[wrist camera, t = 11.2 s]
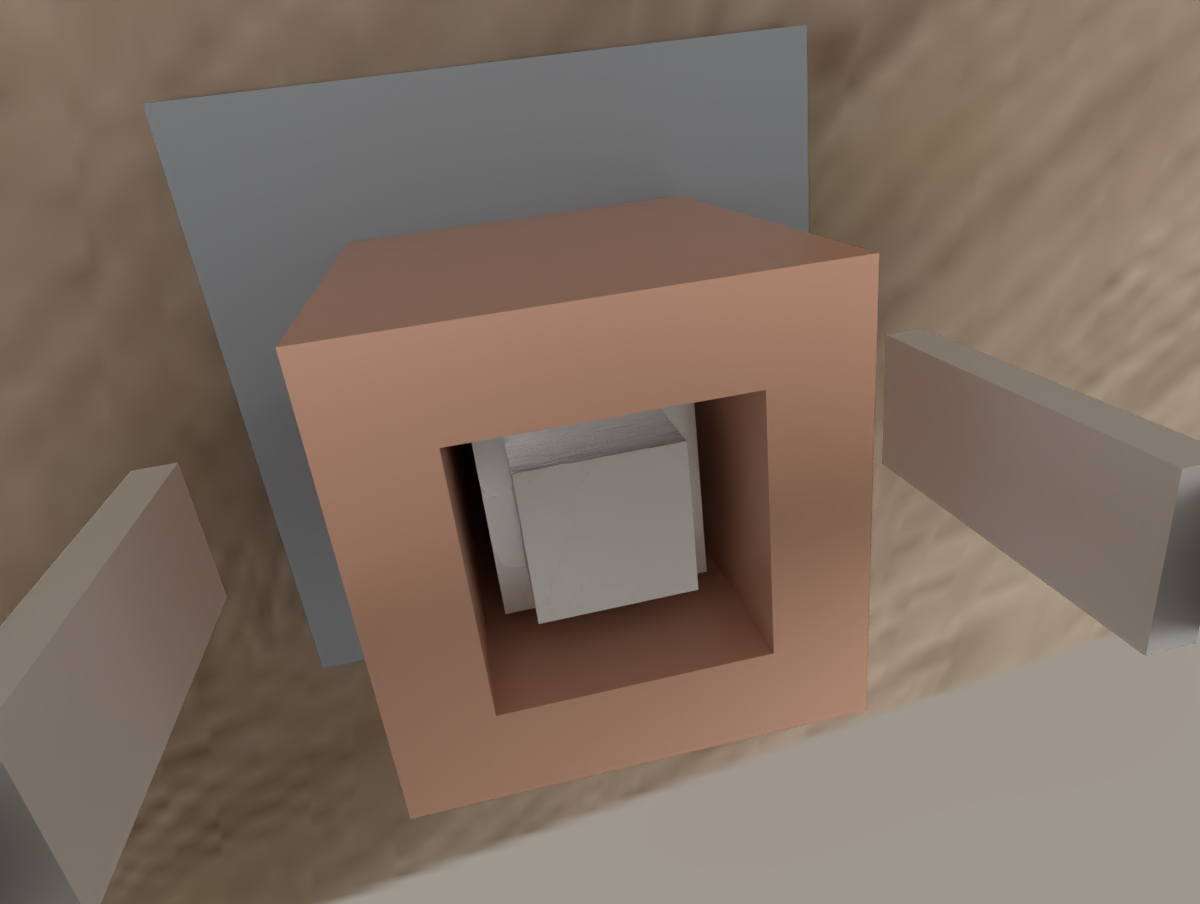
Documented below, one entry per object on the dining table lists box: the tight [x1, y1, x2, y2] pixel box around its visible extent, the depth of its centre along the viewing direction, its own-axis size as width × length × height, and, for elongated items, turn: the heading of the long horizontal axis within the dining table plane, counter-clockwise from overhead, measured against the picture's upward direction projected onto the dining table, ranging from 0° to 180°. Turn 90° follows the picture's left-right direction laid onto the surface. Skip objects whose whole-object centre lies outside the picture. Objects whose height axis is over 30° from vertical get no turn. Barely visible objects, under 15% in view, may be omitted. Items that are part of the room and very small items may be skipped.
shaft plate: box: [142, 25, 809, 669], centre depth 20 cm, size 14×14×1 cm
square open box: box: [276, 196, 879, 819], centre depth 15 cm, size 8×8×9 cm
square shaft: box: [472, 403, 707, 624], centre depth 16 cm, size 4×4×8 cm
